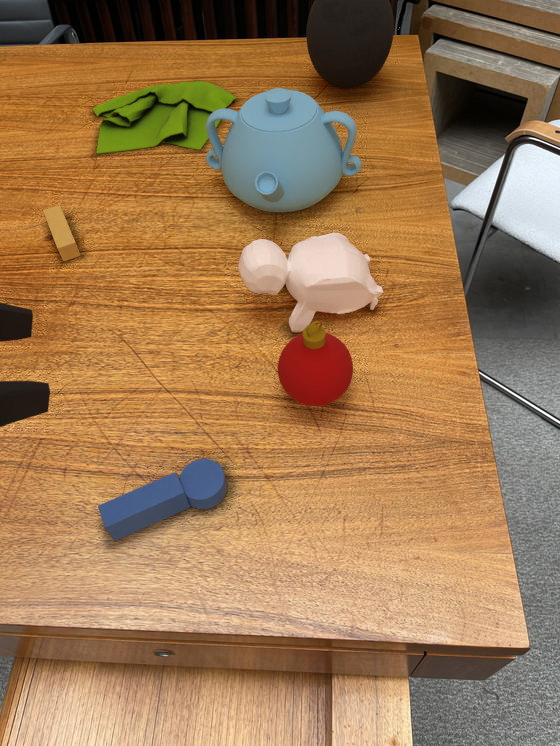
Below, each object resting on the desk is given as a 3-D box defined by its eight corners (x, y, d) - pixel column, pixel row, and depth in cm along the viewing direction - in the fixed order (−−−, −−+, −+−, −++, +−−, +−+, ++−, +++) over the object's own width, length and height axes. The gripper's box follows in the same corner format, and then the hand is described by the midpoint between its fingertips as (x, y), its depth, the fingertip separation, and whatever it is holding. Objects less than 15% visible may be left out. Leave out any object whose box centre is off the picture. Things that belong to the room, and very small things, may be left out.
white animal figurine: (345, 285, 75) (223, 271, 70) (375, 228, 69) (243, 209, 64) (364, 339, 70) (234, 329, 65) (398, 282, 64) (257, 266, 59)
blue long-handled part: (117, 551, 54) (107, 536, 51) (104, 511, 56) (94, 496, 54) (234, 498, 56) (230, 482, 54) (217, 462, 58) (212, 445, 56)
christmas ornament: (323, 351, 66) (322, 281, 58) (366, 396, 62) (372, 328, 54) (266, 385, 63) (257, 317, 55) (308, 433, 60) (304, 368, 52)
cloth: (253, 94, 97) (251, 79, 95) (175, 175, 85) (172, 160, 83) (142, 70, 103) (139, 55, 101) (57, 143, 92) (51, 128, 90)
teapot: (364, 153, 86) (369, 60, 76) (352, 255, 74) (356, 160, 64) (222, 149, 89) (208, 58, 78) (188, 246, 77) (167, 154, 67)
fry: (81, 255, 77) (75, 242, 75) (63, 262, 76) (57, 248, 75) (65, 218, 81) (59, 204, 80) (48, 224, 81) (42, 210, 79)
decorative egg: (307, 65, 101) (305, -41, 89) (386, 61, 100) (394, -46, 88) (307, 108, 93) (304, -2, 82) (392, 104, 93) (401, -7, 81)
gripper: (-239, 408, 30) (62, 390, 36) (-209, 239, 39) (28, 249, 45) (-213, 500, 34) (53, 469, 41) (-191, 329, 43) (23, 326, 50)
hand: (39, 358), depth 43 cm, fingers open, 7 cm apart
